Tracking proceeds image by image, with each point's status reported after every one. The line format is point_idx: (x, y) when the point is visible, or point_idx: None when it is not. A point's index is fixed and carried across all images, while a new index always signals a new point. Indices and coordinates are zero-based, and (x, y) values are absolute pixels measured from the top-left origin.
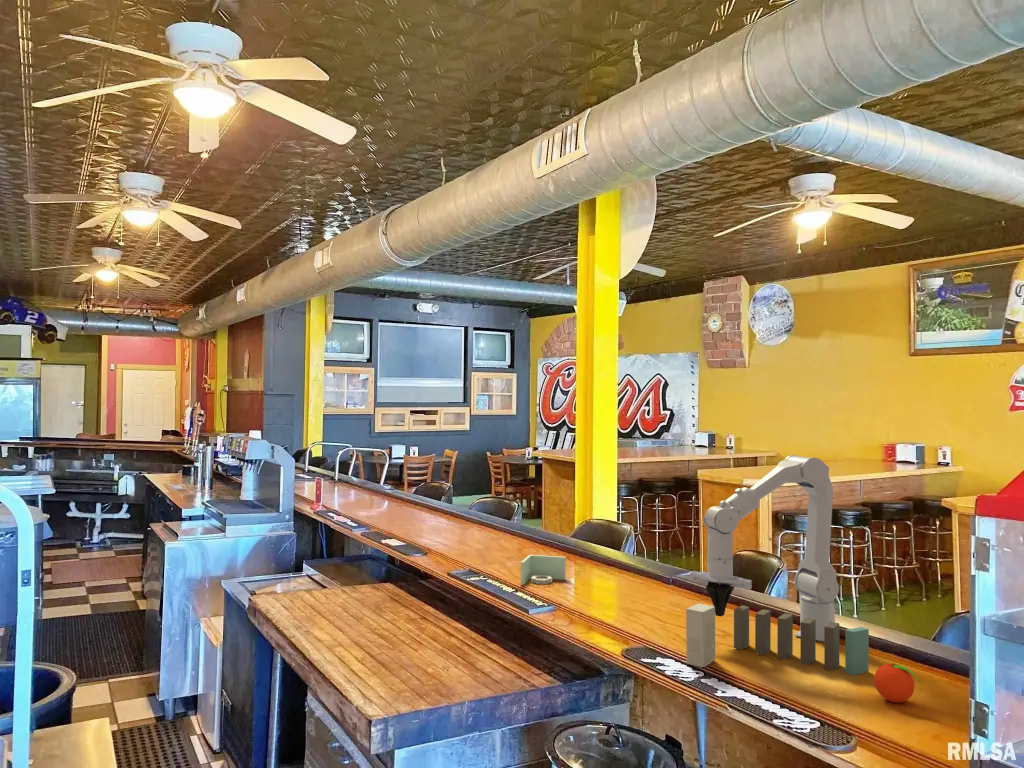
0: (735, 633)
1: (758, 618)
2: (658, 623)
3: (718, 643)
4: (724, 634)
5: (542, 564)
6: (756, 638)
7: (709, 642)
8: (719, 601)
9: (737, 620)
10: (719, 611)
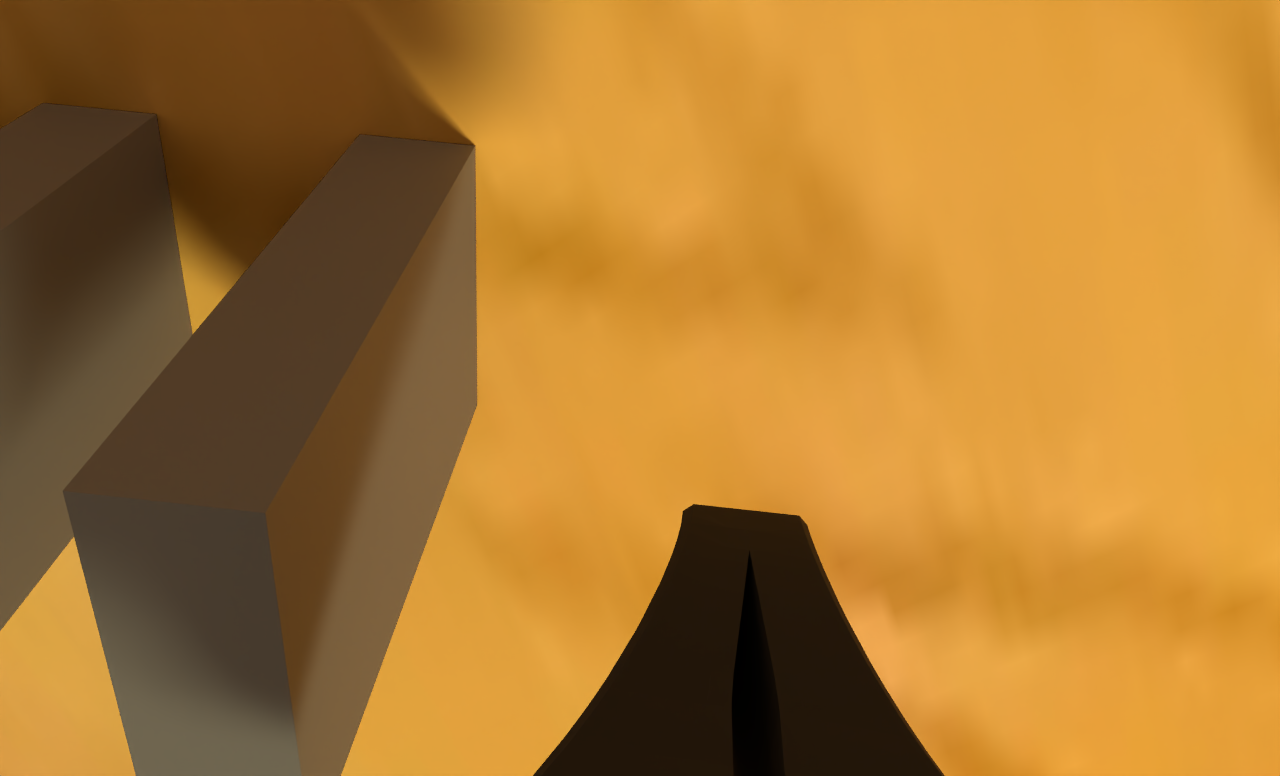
0: (388, 244)
1: None
2: None
3: (743, 260)
4: None
5: None
6: (14, 197)
7: None
8: (686, 714)
9: (267, 366)
10: (707, 553)
